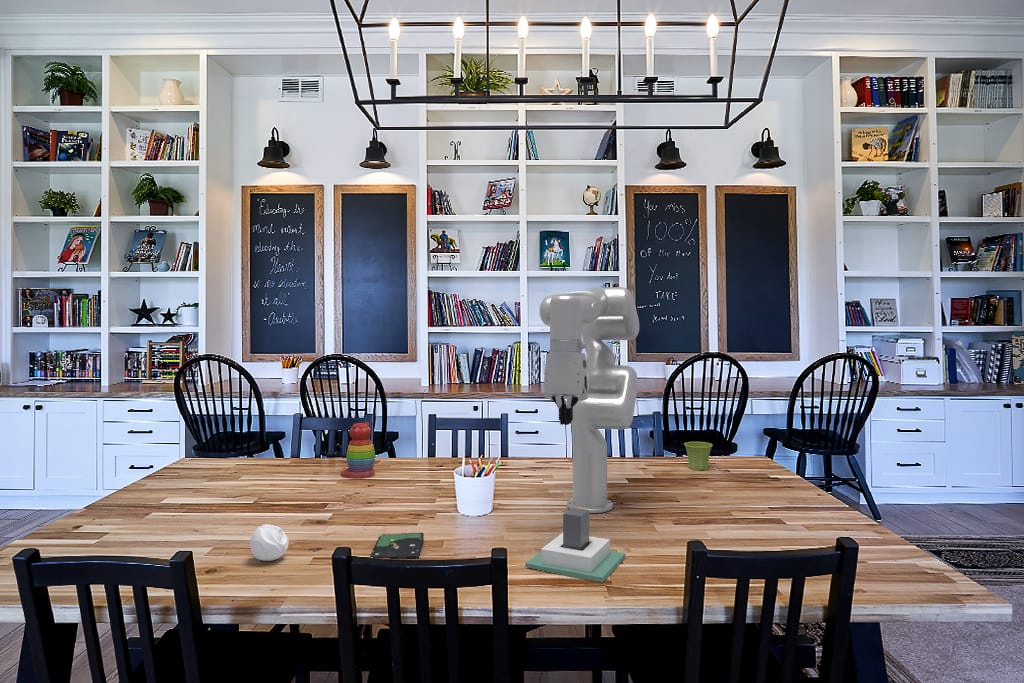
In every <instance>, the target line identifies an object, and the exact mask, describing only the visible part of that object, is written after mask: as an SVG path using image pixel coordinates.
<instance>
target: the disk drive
mask: <svg viewBox="0 0 1024 683" xmlns="http://www.w3.org/2000/svg"><path fill="white" fill-rule="evenodd" d="M424 537H425V534H424V532H408V533H407V532H401V533H382V534H380V535H379V536H378V537H377V541H376V542H375V544H374V547H373V548H372V551H371V552H370V555H369V558H370V557H373V558H388V559H419V560H420V557H421V554H420V553H421V552H422V550H423V546H424V543H423V542H424V541H425V540H424V539H425V538H424ZM422 545H423V546H422ZM421 549H422V550H421ZM419 556H420V557H419Z"/></svg>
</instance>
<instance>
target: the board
mask: <svg viewBox="0 0 1024 683" xmlns="http://www.w3.org/2000/svg"><path fill="white" fill-rule="evenodd" d="M540 550H541V551H539V552H538V553H537V554H535V555H534V556H533V557H531V558H530V559H529V560H527V561H526V562H525V563H524V565H525V567H527V568H526V569H528V568H533V569H537V570H536V571H539V570H542V571H541V572H544V571H547V572H546V573H549V572H551V574H554V573H556V574H555V575H560V574H561V575H560V576H565V575H566V577H570V576H571V578H577V579H581V580H582V579H583V580H586V579H587V580H588V581H593V582H598V583H602V584H603V583H604V582H605V581H606V580H607V578H608V577H609V576H610V575H611V574H612V573H613V572H614V571H615V570H616V568H618V567H619V565H620V564H621V563H622V562H623V561H624V560H625V559H626V552H621V551H615V550H611V539H609V538H603V537H596V536H590V535H589V545H588V546H587V547H586V548H585V549H584V550H583V551H581V550H575V549H569V548H563V532H562V533H560V534H559V535H558V536H556V537H555V538H554V539H553V540H551V541H550V542H549V543H547V544H546V545H545V546H543V547H542V548H541V549H540ZM525 567H524V568H525ZM533 569H532V570H533Z"/></svg>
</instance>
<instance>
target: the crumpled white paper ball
mask: <svg viewBox="0 0 1024 683" xmlns="http://www.w3.org/2000/svg"><path fill="white" fill-rule="evenodd" d="M289 544H290V540H289V538H288V536H287V534H286V533H285V532H284V531H283V530H282V528H281V527H280V526H277V525H273V524H262V525H260V526H259V527H257V528H256V529H255V530H254V532H253V533H252V535H251V538H250V545H249V546H250V550H251V553H252V554H253V556H254V557H255V558H256V559H258V560H260V561H263V562H271V561H275V560H277V559H279V558H281V557H283V556H284V555H285V553H286V551H287V550H288V547H289Z"/></svg>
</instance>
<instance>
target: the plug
mask: <svg viewBox="0 0 1024 683" xmlns="http://www.w3.org/2000/svg"><path fill="white" fill-rule="evenodd" d="M562 533H563V548H569V549H575V550H581V551H583V550H584V549H585V548H586V547H587V546H588V545H589V536H590V513H589V510H587V508H584V507H577V508H570V509H569V508H568V510H566V511H564V512H563V514H562Z"/></svg>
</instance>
